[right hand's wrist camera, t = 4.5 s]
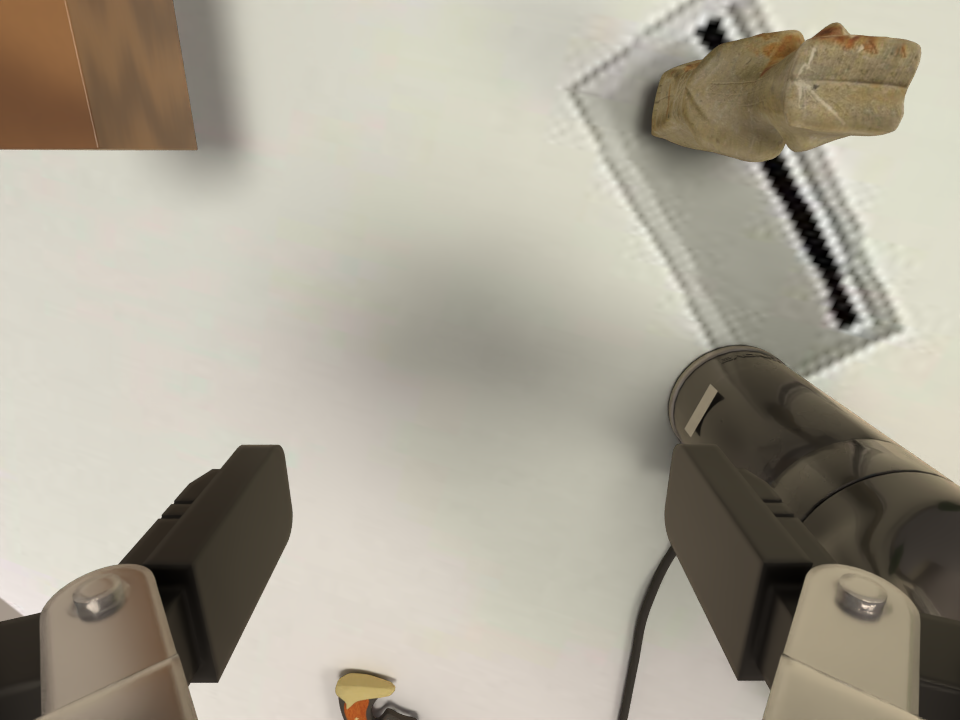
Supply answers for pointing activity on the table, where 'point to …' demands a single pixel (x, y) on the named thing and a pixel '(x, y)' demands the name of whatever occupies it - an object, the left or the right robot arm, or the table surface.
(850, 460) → the right robot arm
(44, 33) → the bar
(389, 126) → the table surface
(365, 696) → the toy gun
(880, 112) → the sculpture
